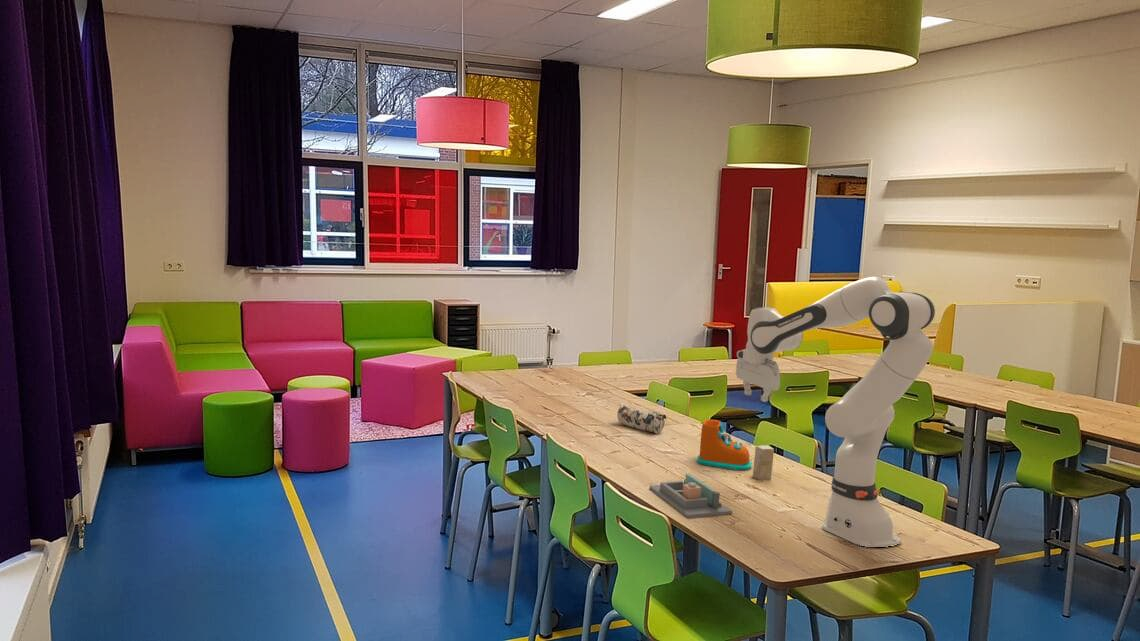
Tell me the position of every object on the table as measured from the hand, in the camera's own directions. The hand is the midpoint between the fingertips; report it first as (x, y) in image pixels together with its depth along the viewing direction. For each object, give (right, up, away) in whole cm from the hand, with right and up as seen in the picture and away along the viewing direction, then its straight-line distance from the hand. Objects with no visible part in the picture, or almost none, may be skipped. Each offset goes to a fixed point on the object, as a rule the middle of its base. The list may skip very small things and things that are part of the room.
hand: (755, 398), depth 254 cm
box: (+6, -30, +17) cm, 35 cm away
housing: (-23, -31, -9) cm, 40 cm away
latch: (-20, -30, -8) cm, 37 cm away
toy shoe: (-4, -28, +31) cm, 42 cm away
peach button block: (-23, -31, -14) cm, 41 cm away
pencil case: (-31, -21, +75) cm, 84 cm away
